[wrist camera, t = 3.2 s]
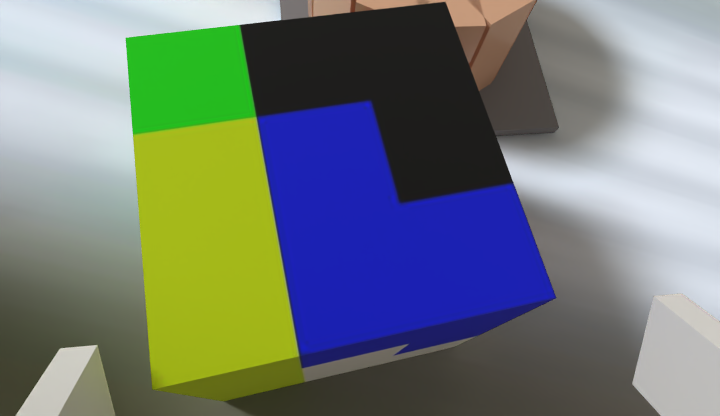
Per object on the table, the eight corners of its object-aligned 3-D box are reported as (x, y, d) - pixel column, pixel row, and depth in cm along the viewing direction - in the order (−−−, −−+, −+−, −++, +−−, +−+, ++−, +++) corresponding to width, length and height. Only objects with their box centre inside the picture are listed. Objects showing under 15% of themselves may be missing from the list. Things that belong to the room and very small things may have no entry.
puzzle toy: (454, 347, 22) (556, 298, 13) (223, 401, 20) (152, 389, 11) (397, 150, 26) (445, 1, 16) (196, 182, 24) (125, 37, 15)
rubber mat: (290, 146, 25) (289, 142, 25) (276, -57, 30) (275, -65, 30) (554, 132, 27) (558, 127, 26) (498, -59, 32) (501, -66, 32)
